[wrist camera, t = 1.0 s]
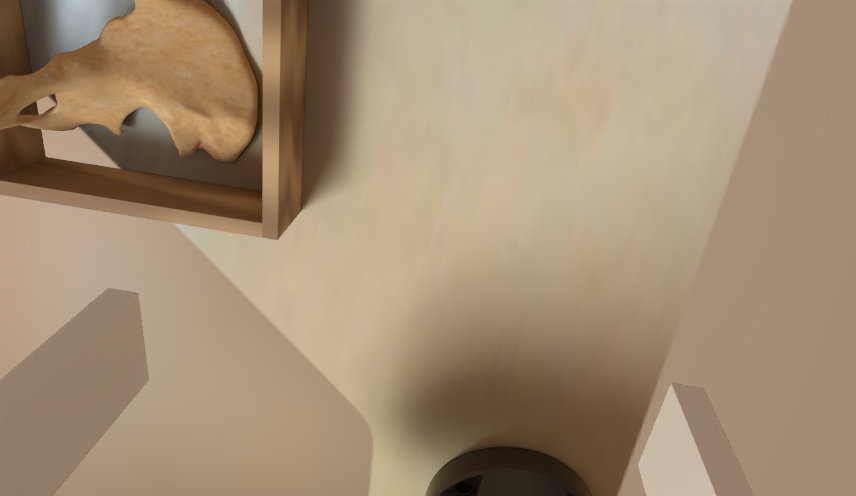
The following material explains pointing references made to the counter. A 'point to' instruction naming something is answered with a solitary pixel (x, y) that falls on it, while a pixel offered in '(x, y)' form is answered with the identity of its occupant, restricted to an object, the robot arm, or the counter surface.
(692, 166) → the counter surface
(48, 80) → the bone
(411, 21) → the counter surface
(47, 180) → the wooden tray
